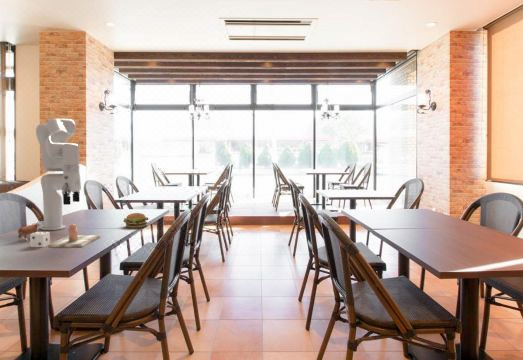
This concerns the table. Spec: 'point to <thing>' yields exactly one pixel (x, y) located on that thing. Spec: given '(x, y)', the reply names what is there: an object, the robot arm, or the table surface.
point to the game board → (81, 241)
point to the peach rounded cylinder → (73, 233)
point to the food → (135, 220)
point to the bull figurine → (28, 230)
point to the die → (39, 239)
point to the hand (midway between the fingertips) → (71, 203)
